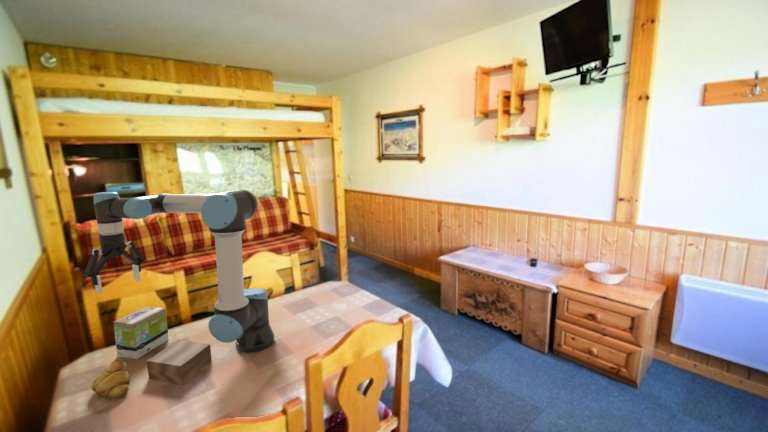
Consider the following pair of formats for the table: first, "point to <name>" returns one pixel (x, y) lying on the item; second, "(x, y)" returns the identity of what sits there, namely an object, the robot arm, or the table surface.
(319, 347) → the table surface
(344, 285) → the table surface
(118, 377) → the bread roll
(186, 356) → the walnut block
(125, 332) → the tea box
